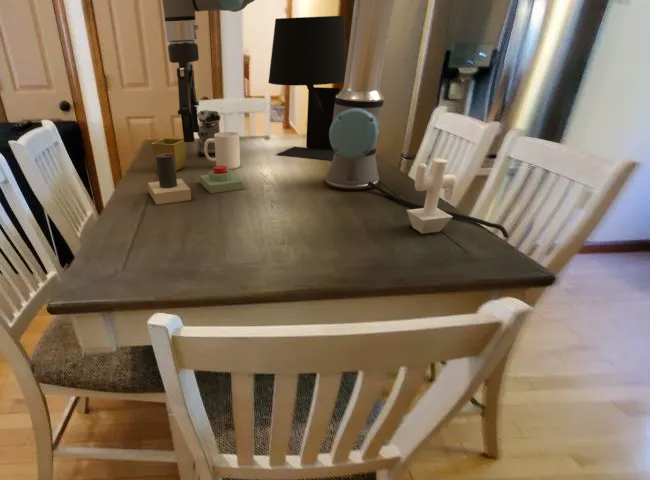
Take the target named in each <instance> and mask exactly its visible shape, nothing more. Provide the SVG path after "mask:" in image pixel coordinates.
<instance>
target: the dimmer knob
mask: <svg viewBox="0 0 650 480" xmlns="http://www.w3.org/2000/svg"><path fill="white" fill-rule="evenodd" d="M155 157H156V159H155V163H156V170H157V177H158V181H159V185H160V187H162V188H172V187H175V186H177V179H178V178H177V171H176V170H175V162H174V154H173V153H163V154H158V155H156V156H154V158H155Z"/></svg>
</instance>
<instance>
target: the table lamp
mask: <svg viewBox="0 0 650 480" xmlns="http://www.w3.org/2000/svg"><path fill="white" fill-rule="evenodd" d="M346 46H347V45H346V18H345V15H325V16H322V15H321V16H307V17H306V16H301V17H285V18H284V17H282V18H275V20H274V29H273V39H272V46H271V54H270V55H271V56H270V57H271V58H270V65H269V66H270V67H269V73H268V82H267V83H268V84H270V85H276V86H306V88H307V90H308V92H307V94H308V95H307V118H306V140H305V141H306V143H305V147H303V146H293V147H290V148H288V149H286V150H284V151H280V152H278V153H277V154H276V155H277V156H282V157H283V156H284V157H293V158H302V159H312V160H321V161H322V160H323V161H330V162H332V160H333V157H334V150H333V148H332V146H331V143H330V139H329V130H330V127H331V124H332V122H333V114H334V106H335V98H336V94H337V93H338V92H339V91H341V88H339V87H323V86H322V85H333V84H334V85H335V84H341V83H344V78H345V70H346V63H347V48H346ZM315 86H317V87H315ZM318 86H319V87H318Z"/></svg>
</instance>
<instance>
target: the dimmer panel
mask: <svg viewBox="0 0 650 480" xmlns="http://www.w3.org/2000/svg"><path fill="white" fill-rule="evenodd" d="M176 179H177V186H175V187H172V188H162V187H160V185H159V180H158V181H151V182H147V187H148V193H149V195H150V197H151V198H152V200H153V202H154V203H155V205H157V206H158V205H164V204H172V203H179V202H180V203H181V202H188V201H192V194H191V193H192V192H191V188H190V187H189V186H188V185H187V183H186V182H185V181H184V180H183V179H182V178H176Z"/></svg>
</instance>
